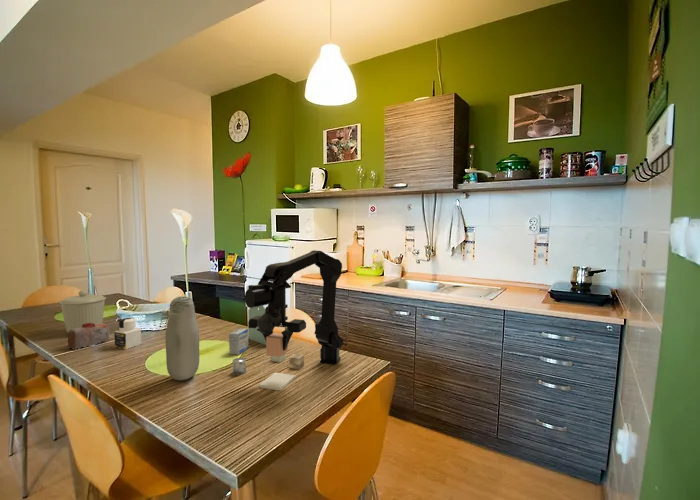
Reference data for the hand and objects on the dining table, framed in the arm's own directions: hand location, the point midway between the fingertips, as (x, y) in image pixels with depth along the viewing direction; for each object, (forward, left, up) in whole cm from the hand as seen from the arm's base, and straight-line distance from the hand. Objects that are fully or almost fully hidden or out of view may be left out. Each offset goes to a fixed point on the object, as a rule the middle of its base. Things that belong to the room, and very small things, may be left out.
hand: (277, 349), depth 112 cm
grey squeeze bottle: (+32, +7, -11) cm, 35 cm away
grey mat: (0, 0, -11) cm, 11 cm away
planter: (+27, -37, -11) cm, 47 cm away
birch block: (0, -14, -11) cm, 18 cm away
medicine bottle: (+80, -12, -11) cm, 81 cm away
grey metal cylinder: (+17, -3, -11) cm, 20 cm away
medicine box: (+30, -21, -11) cm, 38 cm away
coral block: (0, 0, -1) cm, 1 cm away
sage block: (+10, -18, -11) cm, 23 cm away
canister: (+118, -20, -11) cm, 120 cm away
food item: (+97, -8, -11) cm, 98 cm away
